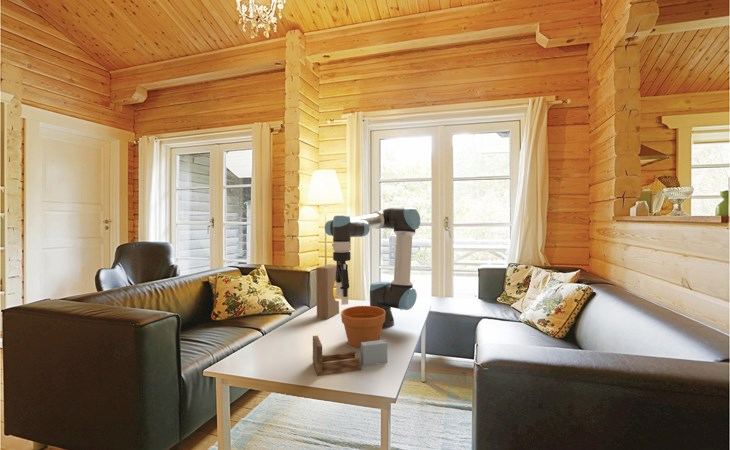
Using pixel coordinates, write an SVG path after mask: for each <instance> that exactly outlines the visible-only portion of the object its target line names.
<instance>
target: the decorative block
mask: <svg viewBox="0 0 730 450" xmlns="http://www.w3.org/2000/svg"><path fill="white" fill-rule="evenodd" d="M336 266H337V264H326V265H321V266H317V267H316V268H315V270H316V275H315V276H316V319H319V318H320V319H321V320H328V319H330V318H332V317H334V316H336V315H338V314H339V313H340V301H339V300H336V298H335V296H334V287H335V284H336V280H335V278H336Z"/></svg>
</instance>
